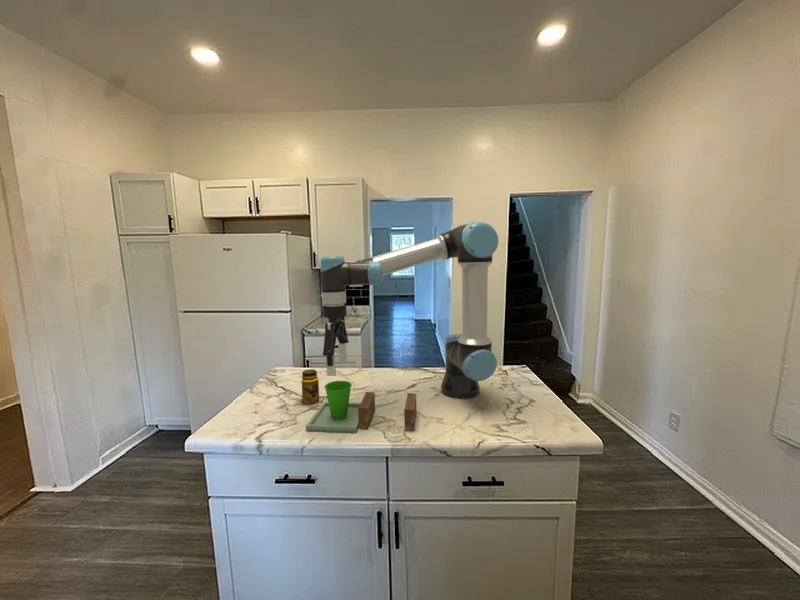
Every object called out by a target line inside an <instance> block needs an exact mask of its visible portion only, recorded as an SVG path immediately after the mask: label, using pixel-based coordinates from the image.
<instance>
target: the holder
mask: <svg viewBox="0 0 800 600" xmlns="http://www.w3.org/2000/svg"><path fill="white" fill-rule="evenodd" d="M375 394H376V393H375V391H366V392H365V394H364V396H363V397H362V399H361V402H359V403H360V405H359V407H358V420H359V428H358V430H369V428H370V425H371V423H372V421H373V418H374V415H375V413H376V395H375ZM404 404H405V405H404V410H403V411H404V413H403V414H404V431H405V432H415V428H416V419H417V414H418V413H417V411H418V410H417V409H418V408H417V393H415V392H414V393H413V392H411V393H409V392H408V393H407V395H406V400H405V403H404Z"/></svg>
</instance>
